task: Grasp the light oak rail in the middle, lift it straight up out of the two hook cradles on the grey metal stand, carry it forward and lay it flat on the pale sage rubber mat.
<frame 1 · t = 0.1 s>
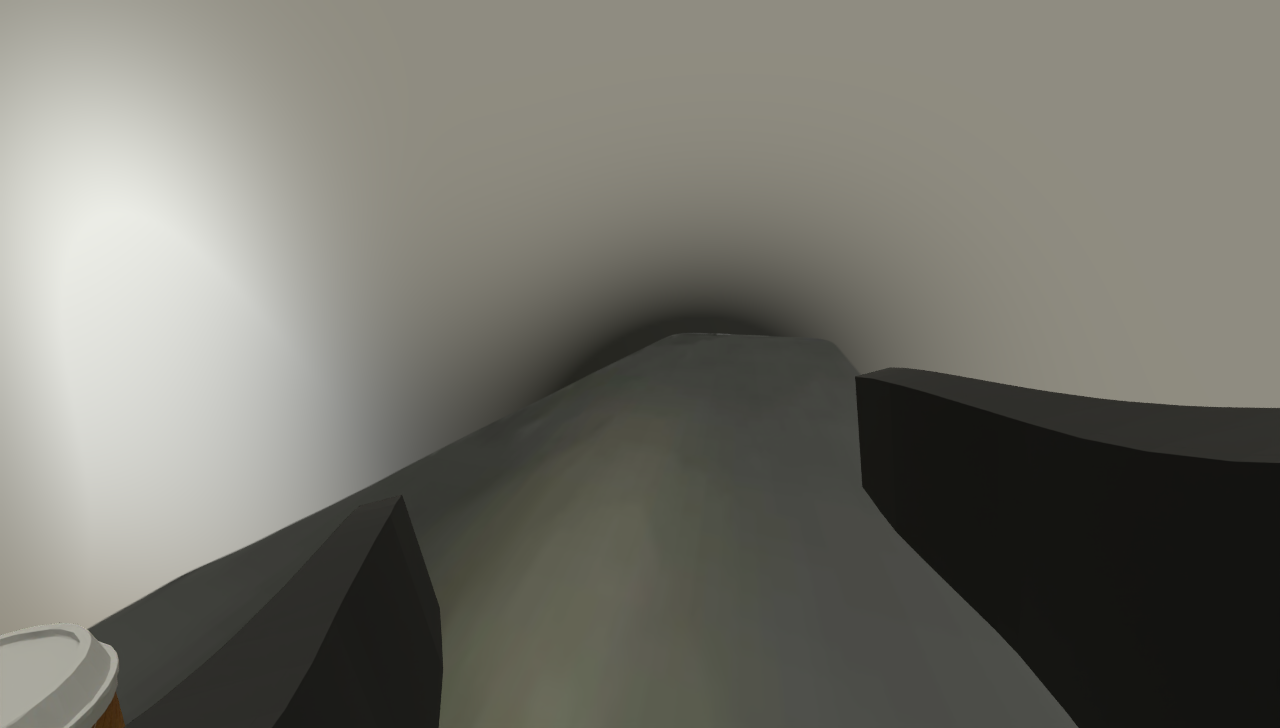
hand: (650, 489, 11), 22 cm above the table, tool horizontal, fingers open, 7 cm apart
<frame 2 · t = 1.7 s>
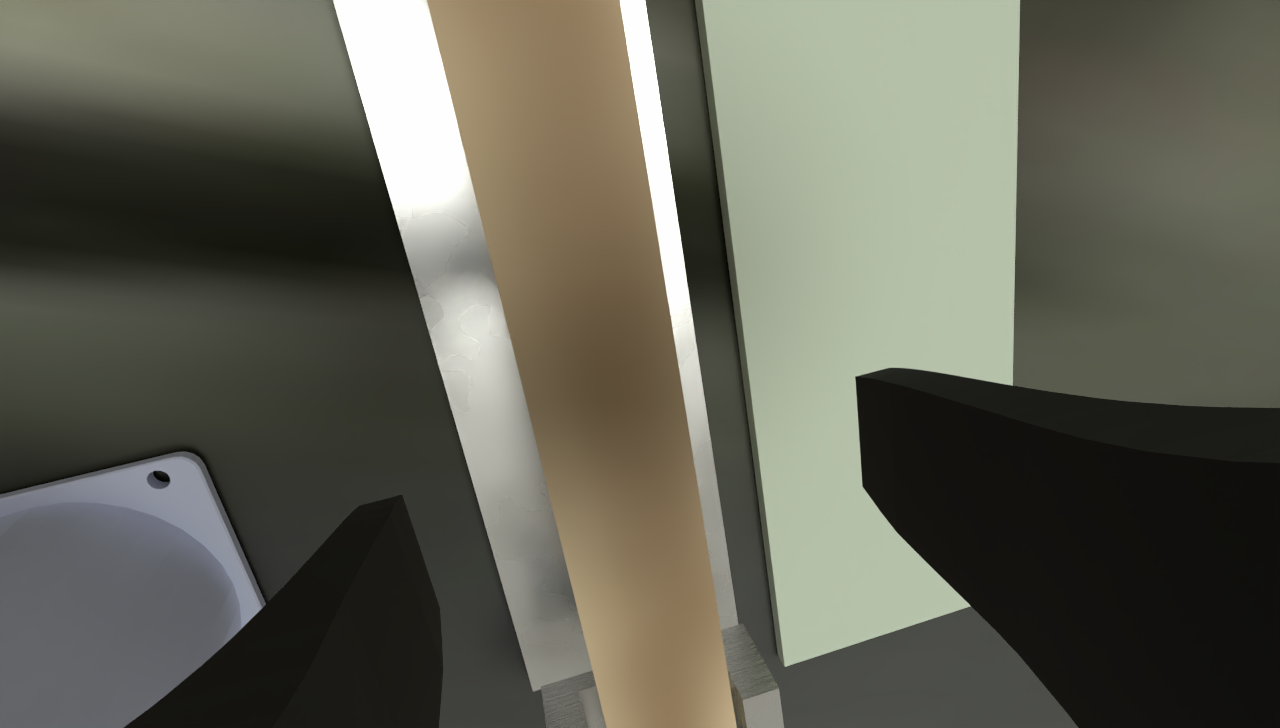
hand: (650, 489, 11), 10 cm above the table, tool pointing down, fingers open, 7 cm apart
rail: (584, 364, 17), point 4 cm above the table, touching rack
rack: (563, 321, 20), on the table
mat: (870, 250, 22), on the table
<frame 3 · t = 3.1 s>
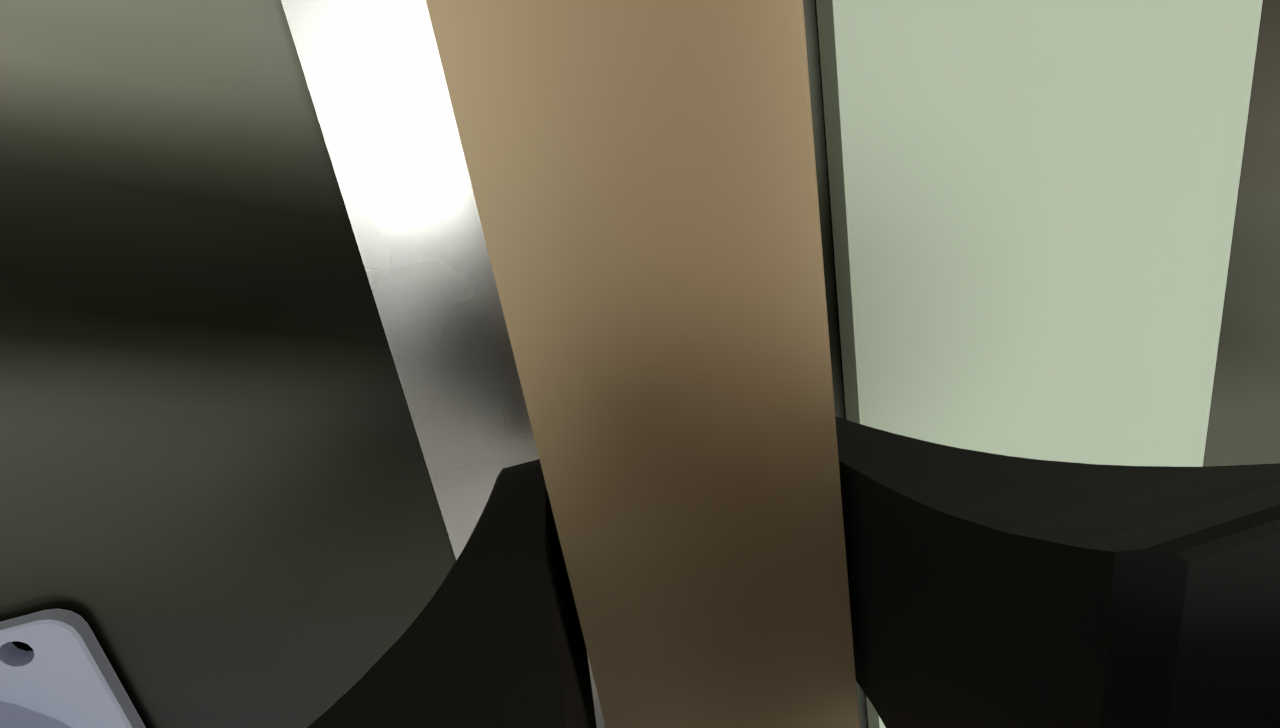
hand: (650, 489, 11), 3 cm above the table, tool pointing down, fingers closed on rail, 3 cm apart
rail: (657, 502, 11), point 4 cm above the table, touching gripper, rack
rack: (608, 407, 14), on the table
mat: (1030, 300, 16), on the table
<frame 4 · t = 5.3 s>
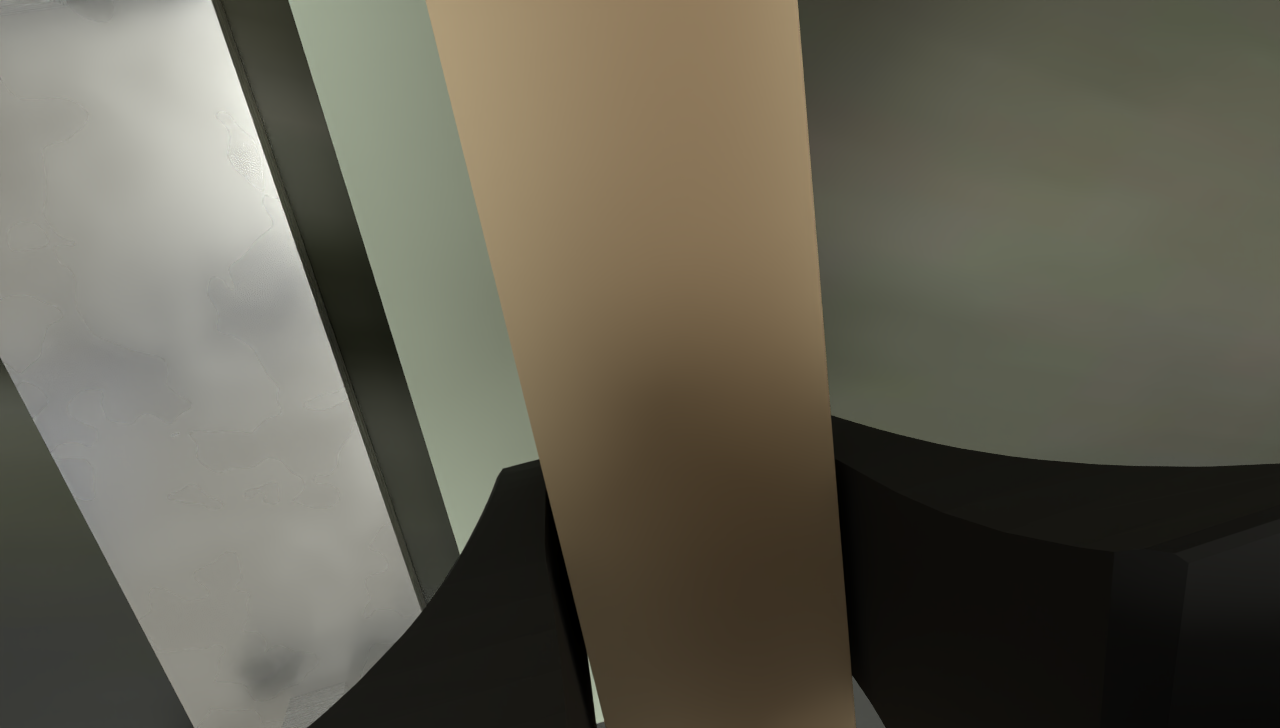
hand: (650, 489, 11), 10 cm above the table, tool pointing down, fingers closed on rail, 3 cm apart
rail: (655, 498, 11), point 10 cm above the table, touching gripper
rack: (209, 400, 19), on the table
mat: (563, 319, 20), on the table
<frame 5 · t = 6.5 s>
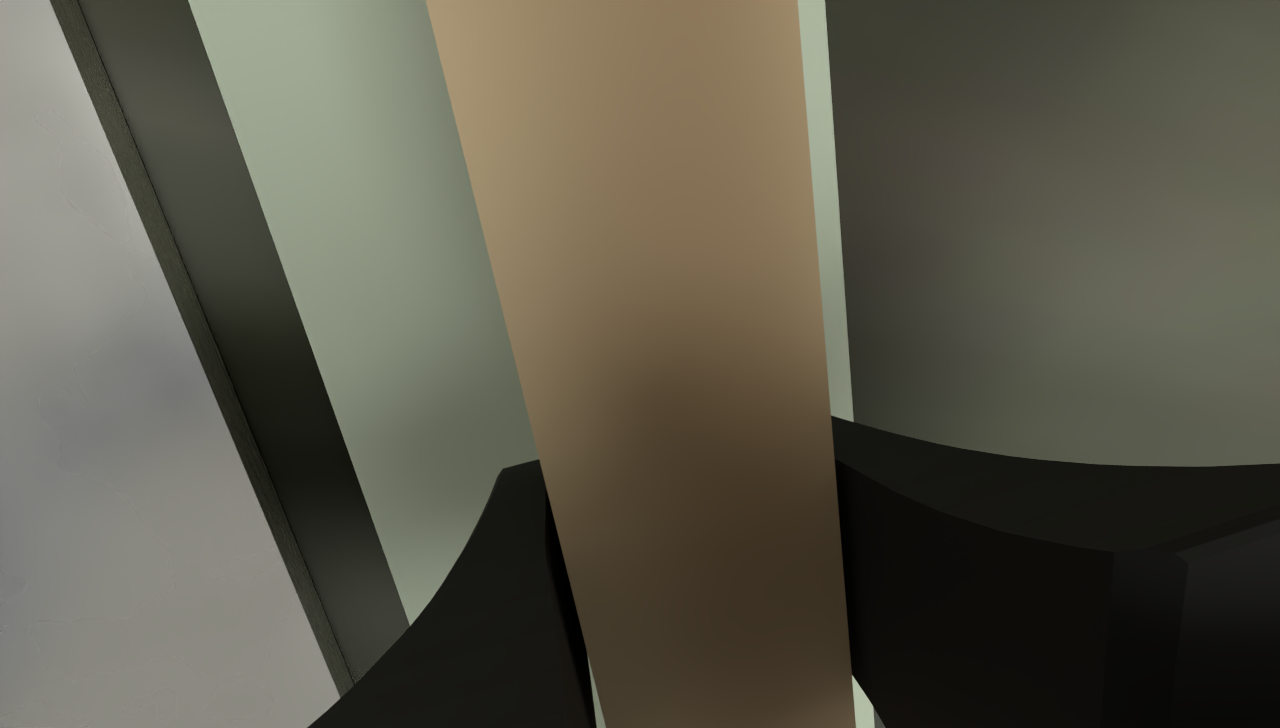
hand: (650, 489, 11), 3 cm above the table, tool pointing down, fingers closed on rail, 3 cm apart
rail: (655, 497, 11), point 3 cm above the table, touching gripper
rack: (64, 565, 12), on the table
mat: (615, 423, 14), on the table
when the fingers open (2 cm above the table, at t = 7.5 s): rail drops 1 cm, resting on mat.
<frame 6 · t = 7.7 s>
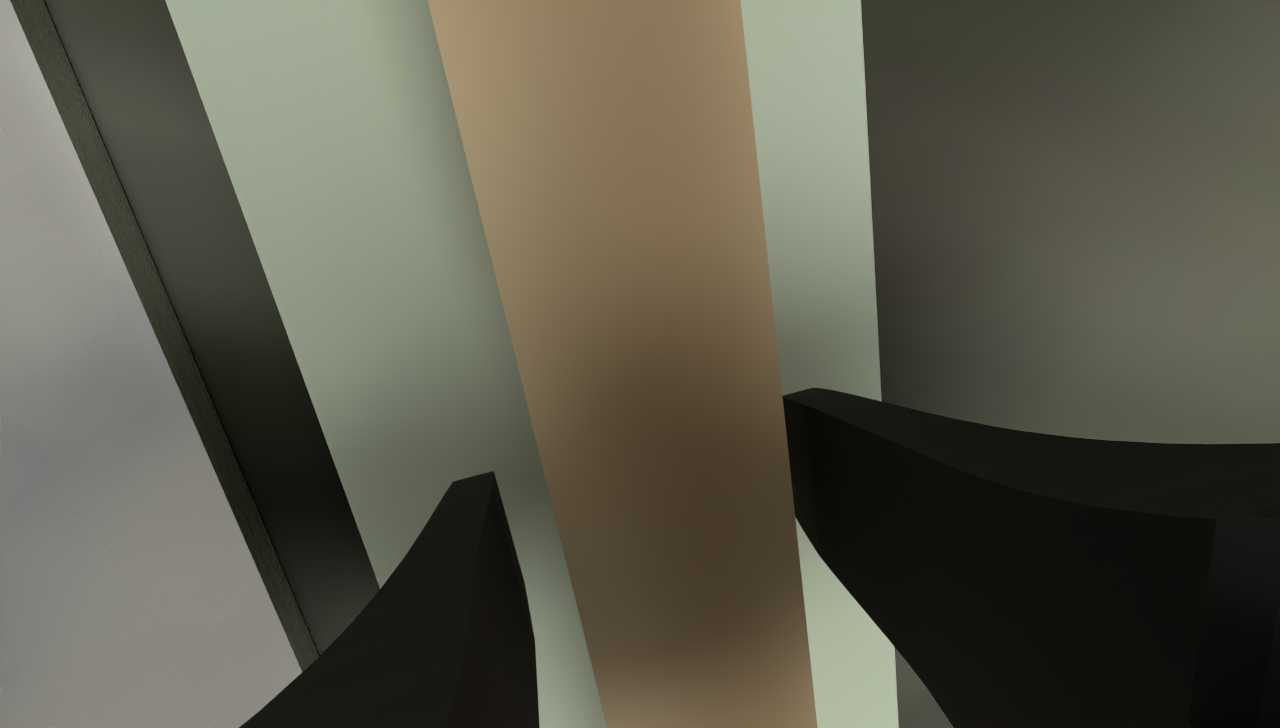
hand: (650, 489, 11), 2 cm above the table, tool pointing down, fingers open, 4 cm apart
rail: (635, 459, 12), point 1 cm above the table, touching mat
rack: (32, 602, 11), on the table
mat: (628, 445, 13), on the table
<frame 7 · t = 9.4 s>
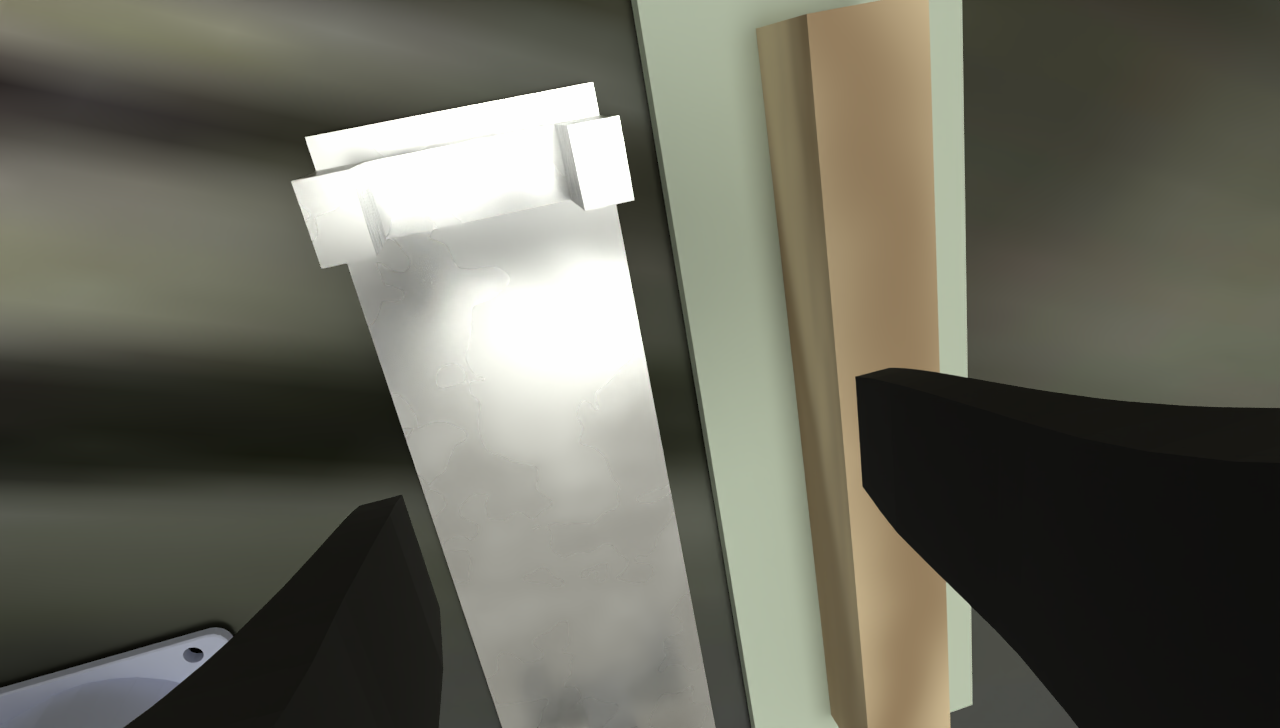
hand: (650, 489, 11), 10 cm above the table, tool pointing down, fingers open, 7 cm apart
rail: (843, 424, 23), point 1 cm above the table, touching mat
rack: (553, 495, 22), on the table
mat: (834, 417, 24), on the table
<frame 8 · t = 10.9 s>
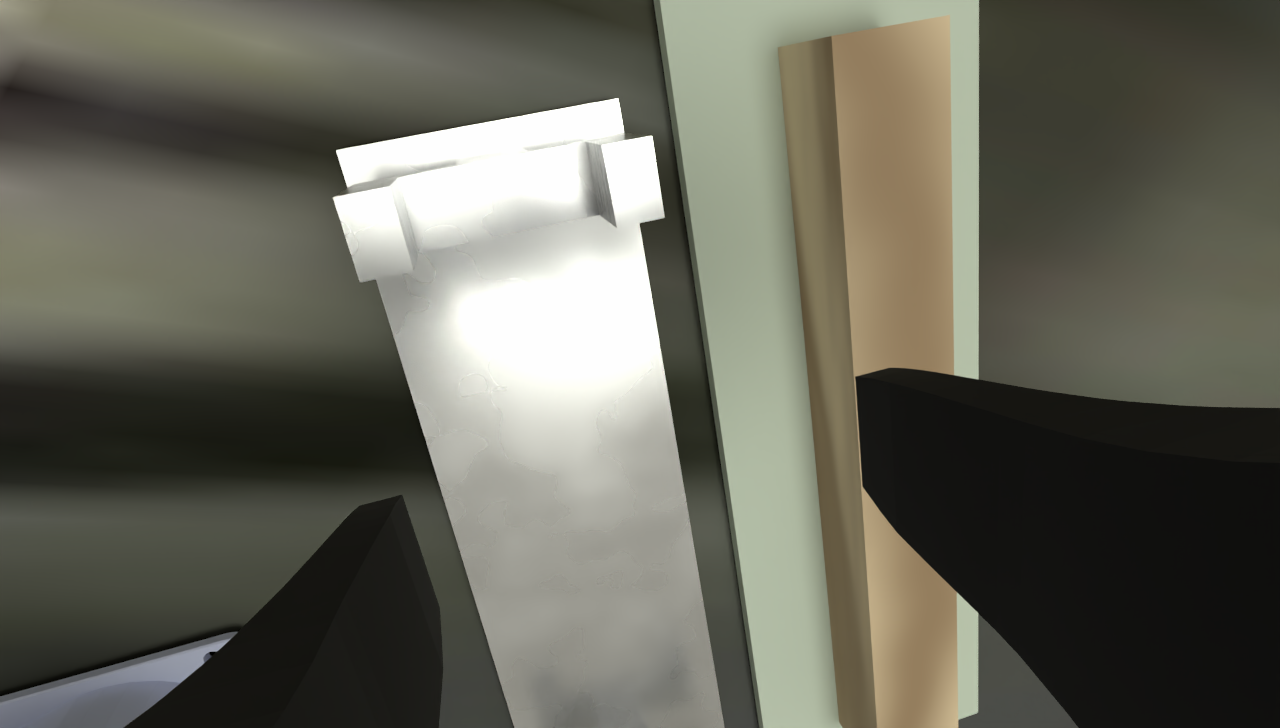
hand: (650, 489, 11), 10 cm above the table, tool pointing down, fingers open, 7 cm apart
rail: (856, 435, 24), point 1 cm above the table, touching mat
rack: (570, 503, 23), on the table
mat: (847, 428, 24), on the table
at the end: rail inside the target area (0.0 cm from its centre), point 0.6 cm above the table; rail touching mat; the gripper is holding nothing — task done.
